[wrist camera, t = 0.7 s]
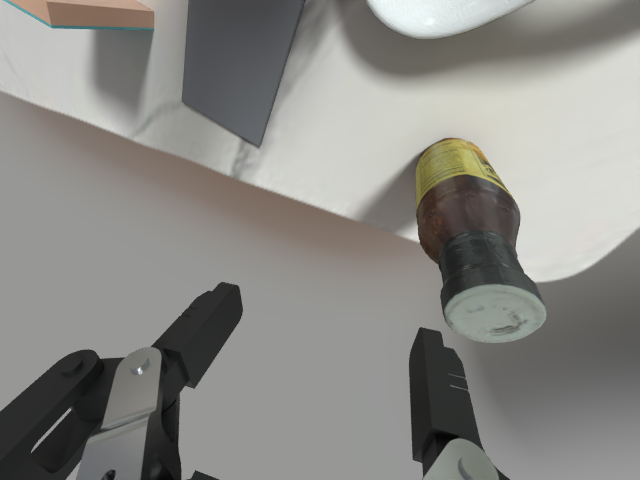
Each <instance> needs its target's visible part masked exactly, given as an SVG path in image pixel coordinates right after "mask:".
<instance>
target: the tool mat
mask: <svg viewBox="0 0 640 480" xmlns="http://www.w3.org/2000/svg"><path fill="white" fill-rule="evenodd" d="M304 3H305V0H189V5H188V20H187V34H186V49H185V63H184V78H183V92H182V102H183V103H185V104H187V105H188V106H190V107H192V108H194V109H195V110H197V111H199V112H200V113H202V114H204V115H206V116H207V117H209V118H211V119H213V120H214V121H216V122H218V123H219V124H221V125H223V126H225V127H226V128H228V129H230V130H232V131H233V132H235V133H237V134H238V135H240V136H242V137H244V138H245V139H247V140H249V141H250V142H252V143H254V144H256V145H257V146H260V145H261V143H262V140H263V137H264V133H265V130H266V127H267V124H268V120H269V117H270V114H271V111H272V107H273V104H274V101H275V98H276V94H277V91H278V88H279V84H280V81H281V78H282V75H283V71H284V68H285V65H286V62H287V58H288V55H289V52H290V49H291V45H292V42H293V39H294V36H295V32H296V29H297V26H298V22H299V19H300V16H301V13H302V9H303V6H304Z"/></svg>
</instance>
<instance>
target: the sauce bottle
mask: <svg viewBox="0 0 640 480" xmlns="http://www.w3.org/2000/svg"><path fill="white" fill-rule="evenodd" d="M415 180H416V217H417V224H418V236H419V240H420V244H421V246H422V248H423V249H424V251H425V253H426V254H427V255H428V256H429V257H430V258H431V259H432V260H433V261H434V262H436V263H437V264H438V265H439V269H440V271H441V273H442V280H443V288H442V290H441V296H440V297H441V304H442V310H443V315H444V318H445V321H446V323H447V324H448V326H449V327H450V328H451V329H452V330H453V331H455V332H456V333H459V334H461V335H463V336H464V337H466V338H468V339H471V340H475V341H480V342H488V343H501V342H508V341H514V340H517V339H520V338H523V337H525V336H527V335H529V334H531V333H532V332H533V331H535V330H536V329H537V328H539V327H541V325H542V323H543V322H544V321H545V319H546V313H547V312H546V307H545V305H544V302H543V300H542V297H541V295H540V293H539V290H538V288H537V286H536V284H535V283H534V282H533V281H532V280H531V279H530V278H529V277H528V276H527V275H526V274H524V271H523V269H522V267H521V265H520V264H519V262H518V259H517V253H516V249H515V247H516V239H517V235H518V230H519V226H520V211H519V208H518V206H517V204H516V202H515V200H514V199H513V197H512V195H511V194H510V193H509V191H508V190H507V189H506V187H505V186H504V184H503V183H502V181H501V180H500V178H499V177H498V175H497V174H496V172H495V171H494V169H493V168H492V166H491V165H490V164H489V162H488V161H487V159H486V158H485V156H484V155H483V153H482V152H481V150H480V149H479V148H478V147H477V146H475V145H474V144H473V143H471V142H468V141H466V140H463V139H458V138H445V139H443V140H440V141H438V142H436V143H434V144H433V145H431V146H430V147H429V148H428V149H426V150H425V151H424V152H423V153H422V154H421V156H420V159H419V162H418V164H417V167H416V173H415Z"/></svg>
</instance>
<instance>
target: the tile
mask: <svg viewBox="0 0 640 480" xmlns="http://www.w3.org/2000/svg"><path fill="white" fill-rule="evenodd" d="M4 1H6V2H8V3H9V4H11V5H13V6H14V7H16V8H18V9H20V10H21V11H23V12H25V13H27V14H28V15H30V16H32V17H33V18H35V19H37V20H39V21H40V22H42V23H44V24H46V25H47V26H49V27H51V28H63V29H116V30H154V11H152V10H151V9H149V8H147V7H146V6H144V5H142V4H141V3H139V2H137V1H136V0H4Z"/></svg>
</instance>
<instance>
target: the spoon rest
mask: <svg viewBox="0 0 640 480" xmlns="http://www.w3.org/2000/svg"><path fill="white" fill-rule="evenodd" d="M534 1H536V0H366V3H367V4H368V6H369V8H370V9H371V11H372V12H373V13H374V15H375V16H376V17H377V18H378V19H379V20H380V21H381V22H382V23H383V24H385V25H386V26H387V27H389V28H390V29H392V30H394V31H395V32H397V33H400V34H402V35H405V36H408V37H411V38H417V39H437V38H443V37H448V36H452V35H456V34H460V33H463V32H466V31H469V30H472V29H475V28H477V27H480V26H482V25H485V24H487V23H489V22H491V21H493V20H496V19H498V18H500V17H502V16H504V15H507V14H509V13H511V12H513V11H515V10H517V9H519V8H521V7H523V6H525V5H527V4H529V3H532V2H534Z"/></svg>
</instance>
